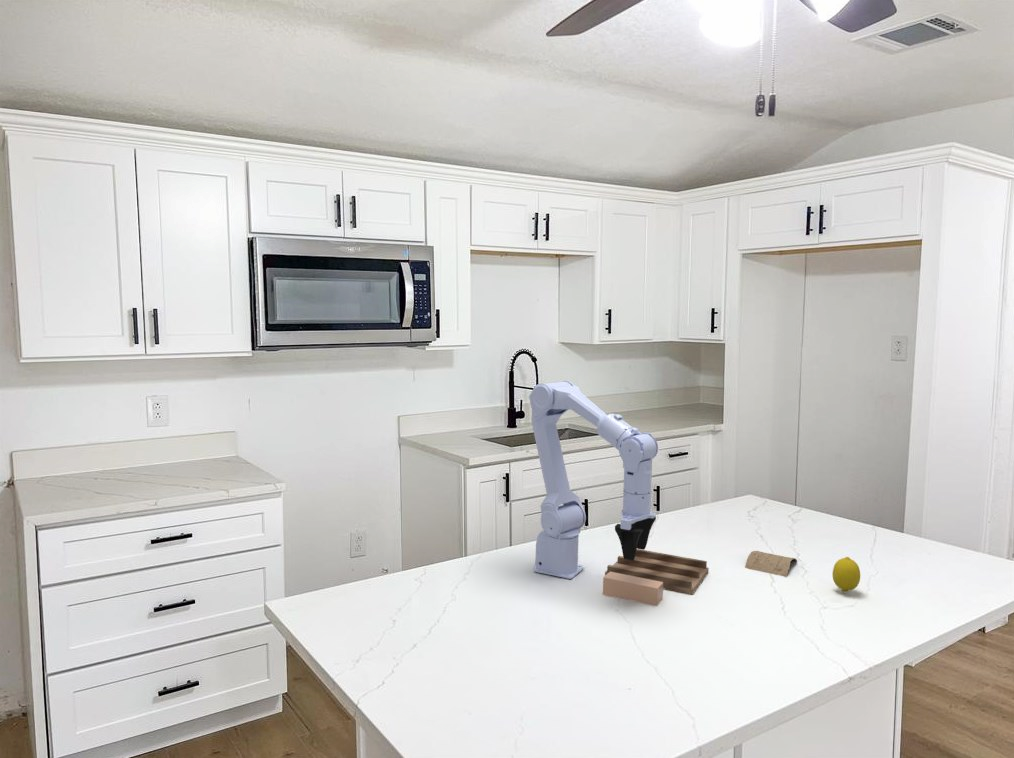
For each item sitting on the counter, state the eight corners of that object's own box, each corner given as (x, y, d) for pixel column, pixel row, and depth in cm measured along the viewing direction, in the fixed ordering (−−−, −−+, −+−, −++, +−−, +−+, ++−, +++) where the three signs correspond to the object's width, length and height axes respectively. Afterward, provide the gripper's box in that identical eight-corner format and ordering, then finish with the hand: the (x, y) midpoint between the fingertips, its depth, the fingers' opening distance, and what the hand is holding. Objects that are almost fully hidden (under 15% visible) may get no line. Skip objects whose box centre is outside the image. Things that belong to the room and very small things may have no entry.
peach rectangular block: (602, 595, 161) (603, 577, 161) (609, 589, 165) (609, 571, 164) (657, 607, 156) (657, 588, 155) (662, 600, 159) (663, 582, 159)
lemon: (830, 594, 163) (832, 558, 163) (832, 585, 168) (834, 551, 167) (858, 599, 161) (860, 563, 160) (859, 590, 166) (862, 555, 165)
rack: (604, 577, 171) (605, 565, 170) (626, 557, 184) (626, 547, 184) (692, 594, 162) (693, 582, 161) (708, 572, 175) (708, 561, 175)
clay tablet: (786, 580, 173) (787, 569, 172) (742, 571, 178) (742, 560, 177) (798, 562, 185) (799, 551, 185) (756, 554, 190) (756, 544, 190)
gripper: (645, 501, 149) (642, 567, 151) (665, 486, 162) (662, 547, 164) (611, 497, 153) (609, 561, 154) (633, 482, 165) (631, 541, 167)
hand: (634, 553), depth 159 cm, fingers open, 7 cm apart
